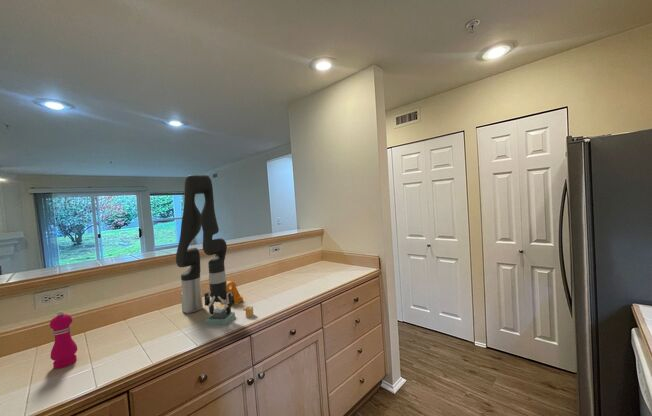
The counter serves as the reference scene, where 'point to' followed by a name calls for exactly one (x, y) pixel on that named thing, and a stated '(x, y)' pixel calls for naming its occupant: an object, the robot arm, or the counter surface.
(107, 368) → the counter surface
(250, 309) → the clip right
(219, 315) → the block
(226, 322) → the tray
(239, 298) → the bracket
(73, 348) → the pepper mill
